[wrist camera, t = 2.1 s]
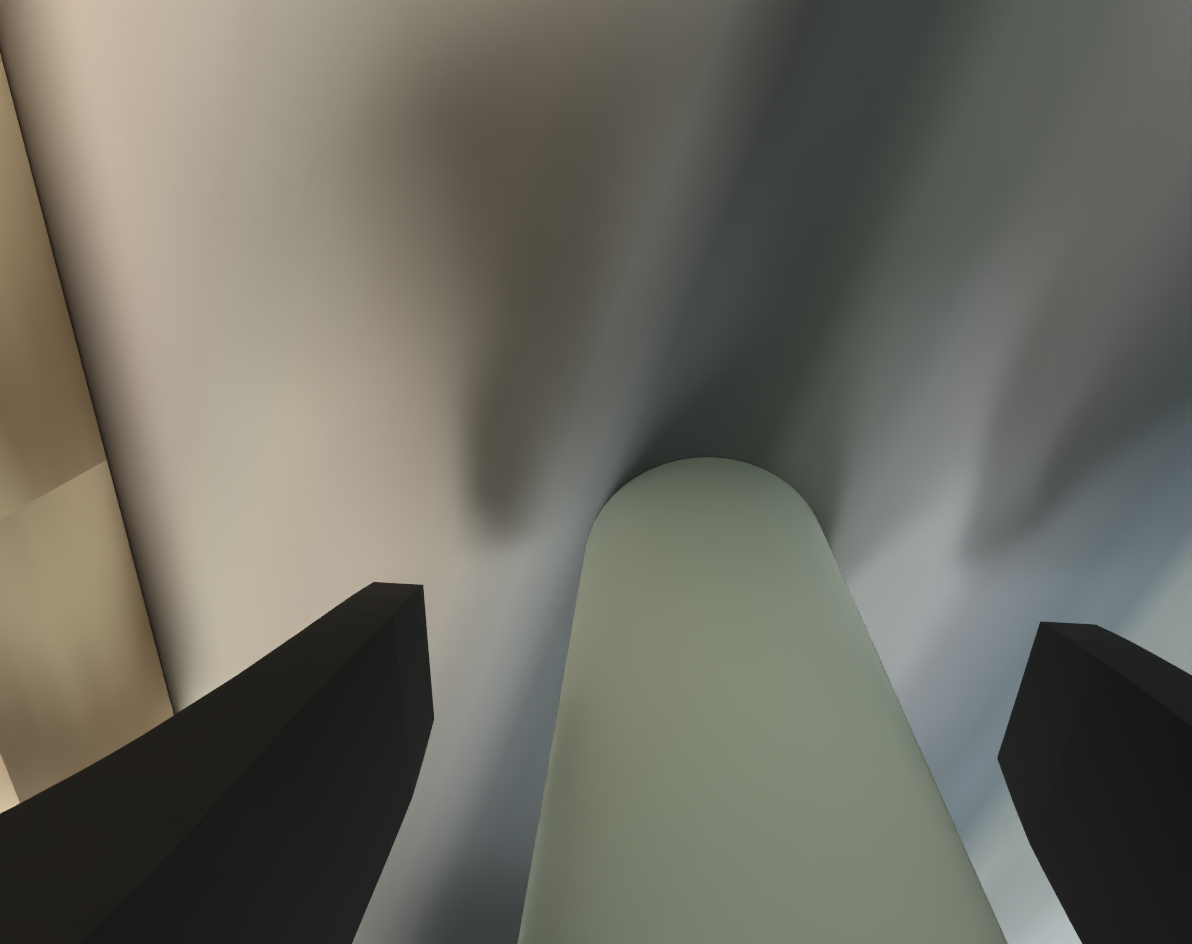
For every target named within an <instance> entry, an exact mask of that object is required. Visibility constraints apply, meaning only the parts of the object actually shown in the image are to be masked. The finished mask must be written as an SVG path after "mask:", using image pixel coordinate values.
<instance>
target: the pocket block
mask: <svg viewBox="0 0 1192 944" xmlns="http://www.w3.org/2000/svg"><path fill="white" fill-rule="evenodd" d="M172 716H174V714H173V710H172V706H171V703H170V699H169V695H168V691H167V687H166V684H165V680H164V676H163V672H162V668H161V664H160V661H159V657H158V653H157V649H156V645H155V642H154V638H153V634H152V630H151V626H150V623H149V619H148V615H147V611H146V607H145V603H144V600H143V596H142V592H141V588H140V584H139V581H138V577H137V573H136V569H135V565H134V562H133V558H132V554H131V550H130V546H129V543H128V539H127V535H126V531H125V527H124V523H123V520H122V516H121V512H120V508H119V504H118V501H117V497H116V493H115V489H114V485H113V482H112V478H111V474H110V470H109V466H108V462H107V459H106V455H105V451H104V447H103V443H102V440H101V436H100V432H99V428H98V424H97V421H96V417H95V413H94V409H93V405H92V401H91V398H90V394H89V390H88V386H87V382H86V379H85V375H84V371H83V367H82V363H81V360H80V356H79V352H78V348H77V344H76V340H75V337H74V333H73V329H72V325H71V321H70V318H69V314H68V310H67V306H66V302H65V299H64V295H63V291H62V287H61V283H60V280H59V276H58V272H57V268H56V264H55V260H54V257H53V253H52V249H51V245H50V241H49V238H48V234H47V230H46V226H45V222H44V219H43V215H42V211H41V207H40V203H39V199H38V196H37V192H36V188H35V184H34V180H33V177H32V173H31V169H30V165H29V161H28V158H27V154H26V150H25V146H24V142H23V138H22V135H21V131H20V127H19V123H18V119H17V116H16V112H15V108H14V104H13V100H12V97H11V93H10V89H9V85H8V81H7V78H6V74H5V70H4V66H3V62H2V58H1V55H0V813H2V812H4V811H6V810H8V809H10V808H12V807H14V806H16V805H18V804H20V803H21V802H23V801H25V800H27V799H29V798H31V797H33V796H34V795H36V794H38V793H40V792H42V791H44V790H46V789H48V788H49V787H51V786H53V785H55V784H57V783H59V782H61V781H62V780H64V779H66V778H68V777H70V776H72V775H74V774H76V773H77V772H79V771H81V770H83V769H85V768H86V767H88V766H90V765H92V764H93V763H95V762H97V761H99V760H101V759H102V758H104V757H106V756H108V755H109V754H111V753H113V752H115V751H116V750H118V749H120V748H121V747H123V746H125V745H127V744H128V743H130V742H132V741H133V740H135V739H137V738H138V737H140V736H142V735H143V734H145V733H147V732H148V731H150V730H151V729H153V728H154V727H156V726H158V725H159V724H161V723H162V722H164V721H166V720H167V719H169V718H170V717H172Z"/></svg>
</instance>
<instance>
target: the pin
mask: <svg viewBox="0 0 1192 944" xmlns="http://www.w3.org/2000/svg"><path fill="white" fill-rule="evenodd" d="M518 944H1007V941H1006V939H1005V937H1004V935H1003V932H1002V930H1001V928H1000V926H999V923H998V921H997V919H996V917H995V915H994V912H993V910H992V908H991V906H990V903H989V901H988V899H987V897H986V894H985V892H984V890H983V888H982V886H981V883H980V881H979V879H978V877H977V874H976V872H975V870H974V868H973V865H972V863H971V861H970V859H969V857H968V854H967V852H966V850H965V848H964V845H963V843H962V841H961V839H960V836H959V834H958V832H957V830H956V828H955V825H954V823H953V821H952V819H951V816H950V814H949V812H948V810H947V807H946V805H945V803H944V801H943V799H942V796H941V794H940V792H939V790H938V787H937V785H936V783H935V781H934V778H933V776H932V774H931V772H930V770H929V767H928V765H927V763H926V761H925V758H924V756H923V754H922V752H921V749H920V747H919V745H918V743H917V741H916V738H915V736H914V734H913V732H912V729H911V727H910V725H909V723H908V720H907V718H906V716H905V714H904V712H903V709H902V707H901V705H900V703H899V700H898V698H897V696H896V694H895V691H894V689H893V687H892V685H891V683H890V680H889V678H888V676H887V674H886V671H885V669H884V667H883V665H882V662H881V660H880V658H879V656H878V654H877V651H876V649H875V647H874V645H873V642H872V640H871V638H870V636H869V633H868V631H867V629H866V627H865V625H864V622H863V620H862V618H861V616H860V613H859V611H858V609H857V607H856V604H855V602H854V600H853V598H852V596H851V593H850V591H849V589H848V587H847V584H846V582H845V580H844V578H843V575H842V573H841V571H840V569H839V567H838V564H837V562H836V560H835V558H834V555H833V553H832V551H831V549H830V546H829V544H828V542H827V540H826V538H825V535H824V533H823V531H822V529H821V526H820V524H819V522H818V520H817V518H816V516H815V515H814V513H813V511H812V509H811V508H810V506H809V505H808V504H807V503H806V501H805V500H804V499H803V498H802V496H801V495H800V494H799V493H798V492H797V491H795V490H794V489H793V488H792V487H791V486H790V485H789V484H787V483H786V482H785V481H783V480H782V479H780V478H779V477H778V476H776V475H774V474H772V473H770V472H768V471H766V470H764V469H762V468H760V467H757V466H754V465H752V464H749V463H746V462H741V461H737V460H733V459H726V458H717V457H697V458H690V459H682V460H677V461H674V462H670V463H666V464H663V465H660V466H658V467H655V468H653V469H650V470H648V471H646V472H644V473H643V474H641V475H639V476H637V477H635V478H634V479H632V480H631V481H630V482H628V483H627V484H625V485H624V486H623V487H622V488H621V489H619V490H618V491H617V492H616V493H615V494H614V495H613V496H612V497H611V498H610V499H609V501H608V502H607V503H606V504H605V506H604V507H603V508H602V510H601V511H600V513H599V515H598V516H597V518H596V520H595V521H594V524H593V526H592V529H591V531H590V533H589V537H588V541H587V545H586V549H585V555H584V561H583V567H582V572H581V578H580V584H579V590H578V596H577V602H576V607H575V613H574V619H573V625H572V631H571V636H570V642H569V648H568V654H567V660H566V666H565V671H564V677H563V683H562V689H561V695H560V701H559V706H558V712H557V718H556V724H555V730H554V735H553V741H552V747H551V753H550V759H549V765H548V770H547V776H546V782H545V788H544V794H543V799H542V805H541V811H540V817H539V823H538V829H537V834H536V840H535V846H534V852H533V858H532V864H531V869H530V875H529V881H528V887H527V893H526V898H525V904H524V910H523V916H522V922H521V928H520V933H519V939H518Z"/></svg>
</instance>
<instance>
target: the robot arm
mask: <svg viewBox="0 0 1192 944" xmlns="http://www.w3.org/2000/svg"><path fill="white" fill-rule="evenodd" d="M433 721H434V711H433V699H432V687H431V675H430V663H429V651H428V639H427V627H426V615H425V603H424V591H423V585H414V584H397V583H380V582H373V583H371V584H370V585H368V586H367V587H365V588H363V589H362V590H360V591H359V592H357V593H355V594H354V595H352V596H351V597H350V598H348V599H347V600H345V601H344V602H342V603H341V604H339V605H338V606H336V607H335V608H334V609H332V610H331V611H329V612H328V613H326V614H325V615H324V616H322V617H321V618H319V619H318V620H316V621H315V622H314V623H312V624H311V625H309V626H308V627H306V628H305V629H304V630H302V631H301V632H299V633H298V634H297V635H295V636H294V637H292V638H291V639H289V640H288V641H286V642H285V643H283V644H282V645H280V646H279V647H278V648H276V649H275V650H273V651H272V652H270V653H269V654H267V655H266V656H264V657H263V658H262V659H260V660H259V661H257V662H256V663H254V664H253V665H251V666H250V667H248V668H247V669H246V670H244V671H243V672H241V673H240V674H238V675H237V676H235V677H234V678H232V679H231V680H229V681H227V682H226V683H224V684H223V685H221V686H220V687H218V688H216V689H215V690H213V691H212V692H210V693H208V694H207V695H205V696H204V697H202V698H200V699H199V700H197V701H196V702H194V703H193V704H191V705H189V706H188V707H186V708H185V709H183V710H181V711H180V712H178V713H177V714H175V715H174V716H172V717H170V718H169V719H167V720H166V721H164V722H162V723H161V724H159V725H158V726H156V727H154V728H153V729H151V730H150V731H148V732H147V733H145V734H143V735H142V736H140V737H138V738H137V739H135V740H133V741H132V742H130V743H128V744H127V745H125V746H123V747H121V748H120V749H118V750H116V751H115V752H113V753H111V754H109V755H108V756H106V757H104V758H102V759H101V760H99V761H97V762H95V763H93V764H92V765H90V766H88V767H86V768H85V769H83V770H81V771H79V772H77V773H76V774H74V775H72V776H70V777H68V778H66V779H64V780H62V781H61V782H59V783H57V784H55V785H53V786H51V787H49V788H48V789H46V790H44V791H42V792H40V793H38V794H36V795H34V796H33V797H31V798H29V799H27V800H25V801H23V802H21V803H20V804H18V805H16V806H14V807H12V808H10V809H8V810H6V811H4V812H2V813H0V944H352V942H353V940H354V937H355V935H356V932H357V930H358V928H359V925H360V923H361V920H362V918H363V916H364V913H365V911H366V909H367V906H368V904H369V901H370V899H371V897H372V894H373V892H374V889H375V887H376V885H377V882H378V880H379V877H380V875H381V873H382V870H383V868H384V865H385V863H386V861H387V858H388V856H389V853H390V851H391V848H392V846H393V844H394V841H395V839H396V836H397V834H398V831H399V829H400V827H401V824H402V822H403V819H404V817H405V814H406V812H407V809H408V807H409V804H410V802H411V799H412V796H413V793H414V790H415V786H416V783H417V779H418V776H419V772H420V769H421V766H422V762H423V759H424V755H425V751H426V747H427V744H428V740H429V736H430V732H431V729H432V725H433ZM997 759H998V761H999V764H1000V767H1001V770H1002V772H1003V775H1004V778H1005V781H1006V784H1007V786H1008V789H1009V792H1010V795H1011V797H1012V800H1013V803H1014V806H1015V808H1016V811H1017V813H1018V816H1019V818H1020V821H1021V823H1022V826H1023V828H1024V831H1025V833H1026V836H1027V838H1028V841H1029V843H1030V845H1031V847H1032V849H1033V851H1034V853H1035V855H1036V857H1037V859H1038V861H1039V863H1040V865H1041V867H1042V869H1043V871H1044V873H1045V874H1046V876H1047V878H1048V880H1049V882H1050V884H1051V886H1052V888H1053V890H1054V891H1055V893H1056V895H1057V897H1058V899H1059V901H1060V903H1061V905H1062V907H1063V909H1064V910H1065V912H1066V914H1067V916H1068V918H1069V920H1070V922H1071V924H1072V925H1073V927H1074V929H1075V931H1076V933H1077V935H1078V937H1079V938H1080V940H1081V942H1082V944H1192V675H1190V674H1188V673H1187V672H1185V671H1183V670H1181V669H1180V668H1178V667H1176V666H1174V665H1172V664H1171V663H1169V662H1167V661H1165V660H1163V659H1162V658H1160V657H1158V656H1156V655H1154V654H1153V653H1151V652H1149V651H1147V650H1145V649H1144V648H1142V647H1140V646H1138V645H1136V644H1134V643H1132V642H1130V641H1128V640H1126V639H1125V638H1123V637H1121V636H1119V635H1117V634H1115V633H1112V632H1110V631H1108V630H1106V629H1104V628H1102V627H1100V626H1097V625H1092V624H1075V623H1058V622H1041V621H1040V624H1039V628H1038V631H1037V634H1036V637H1035V640H1034V643H1033V647H1032V650H1031V653H1030V656H1029V659H1028V662H1027V666H1026V669H1025V672H1024V675H1023V678H1022V681H1021V685H1020V688H1019V691H1018V694H1017V697H1016V700H1015V704H1014V707H1013V710H1012V713H1011V716H1010V720H1009V723H1008V726H1007V729H1006V732H1005V735H1004V739H1003V742H1002V745H1001V748H1000V751H999V754H998V758H997Z"/></svg>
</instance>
